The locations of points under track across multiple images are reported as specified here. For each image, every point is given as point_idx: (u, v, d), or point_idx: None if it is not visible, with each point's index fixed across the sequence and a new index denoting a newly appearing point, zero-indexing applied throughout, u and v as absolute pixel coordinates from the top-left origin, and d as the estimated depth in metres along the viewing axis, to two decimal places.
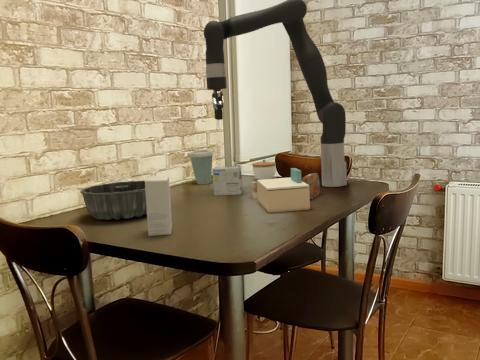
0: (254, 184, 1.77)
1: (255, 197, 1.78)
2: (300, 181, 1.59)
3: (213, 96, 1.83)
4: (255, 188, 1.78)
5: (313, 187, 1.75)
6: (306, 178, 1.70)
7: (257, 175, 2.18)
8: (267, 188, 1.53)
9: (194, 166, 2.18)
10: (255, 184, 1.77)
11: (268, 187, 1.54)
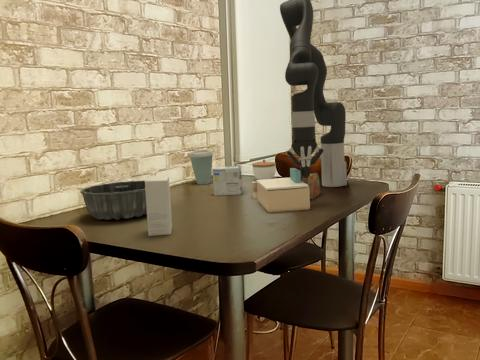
0: (254, 184, 1.77)
1: (255, 197, 1.78)
2: (299, 181, 1.59)
3: (311, 149, 1.59)
4: (255, 188, 1.78)
5: (313, 187, 1.75)
6: (306, 178, 1.70)
7: (257, 175, 2.18)
8: (266, 188, 1.53)
9: (194, 166, 2.18)
10: (255, 184, 1.77)
11: (267, 187, 1.54)
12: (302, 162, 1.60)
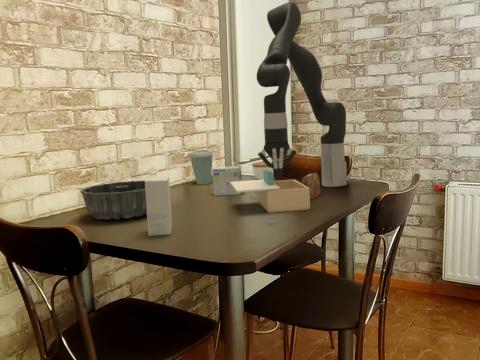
0: None
1: (255, 197, 1.78)
2: (272, 183, 1.58)
3: None
4: None
5: (313, 187, 1.75)
6: (306, 178, 1.70)
7: (257, 175, 2.18)
8: (237, 190, 1.51)
9: (194, 166, 2.18)
10: None
11: (238, 189, 1.53)
12: (274, 164, 1.59)
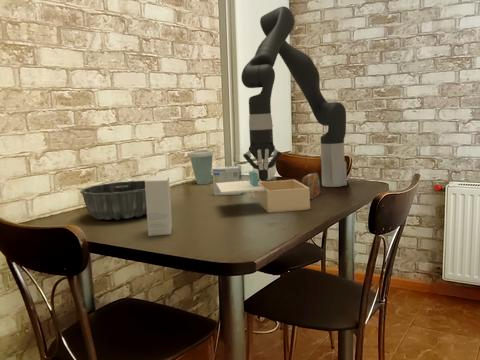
0: None
1: (255, 197, 1.78)
2: (257, 184, 1.58)
3: (268, 152, 1.57)
4: None
5: (313, 187, 1.75)
6: (306, 178, 1.70)
7: None
8: (221, 192, 1.51)
9: (194, 166, 2.18)
10: None
11: (223, 191, 1.52)
12: (259, 165, 1.58)
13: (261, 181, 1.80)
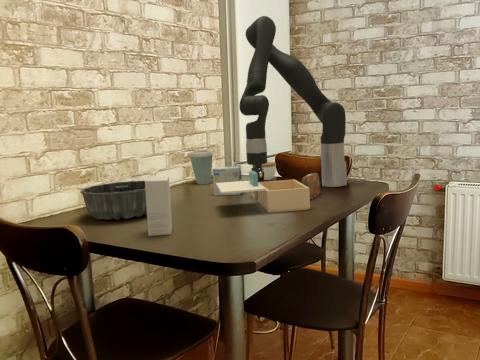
0: None
1: (255, 197, 1.78)
2: (257, 184, 1.58)
3: None
4: None
5: (313, 187, 1.75)
6: (306, 178, 1.70)
7: None
8: (221, 192, 1.51)
9: (194, 166, 2.18)
10: None
11: (223, 191, 1.52)
12: None
13: None
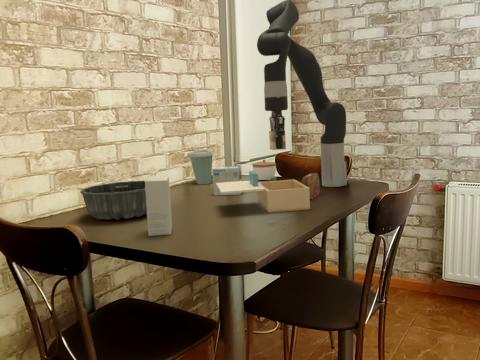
0: (272, 133, 1.58)
1: (273, 147, 1.59)
2: (257, 184, 1.58)
3: None
4: (274, 137, 1.59)
5: (313, 187, 1.75)
6: (306, 178, 1.70)
7: None
8: (221, 192, 1.51)
9: (194, 166, 2.18)
10: (274, 133, 1.58)
11: (223, 191, 1.52)
12: None
13: None
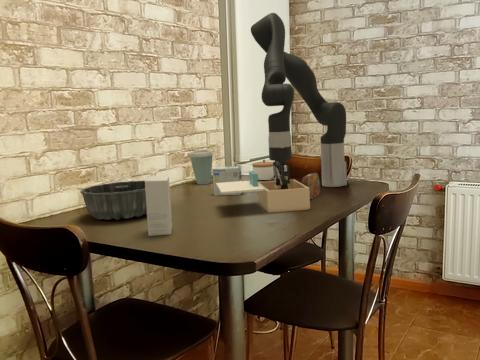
0: (277, 189, 1.61)
1: None
2: (257, 184, 1.58)
3: None
4: None
5: (313, 187, 1.75)
6: (306, 178, 1.70)
7: None
8: (221, 192, 1.51)
9: (194, 166, 2.18)
10: (278, 189, 1.61)
11: (223, 191, 1.52)
12: None
13: None
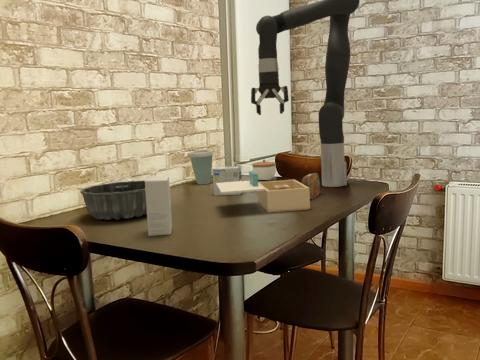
0: (277, 189, 1.61)
1: None
2: (257, 184, 1.58)
3: (275, 90, 1.85)
4: None
5: (313, 187, 1.75)
6: (306, 178, 1.70)
7: None
8: (221, 192, 1.51)
9: (194, 166, 2.18)
10: (278, 189, 1.61)
11: (223, 191, 1.52)
12: (259, 100, 1.85)
13: (285, 185, 1.63)
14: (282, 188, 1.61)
